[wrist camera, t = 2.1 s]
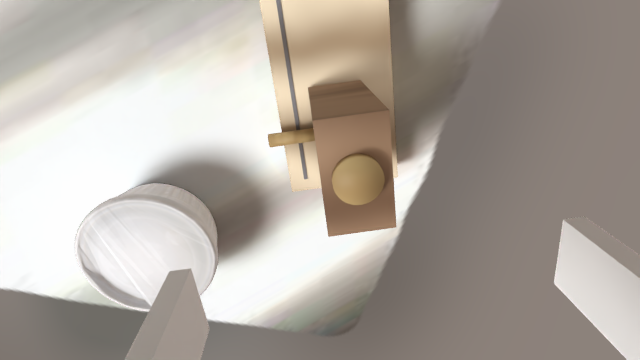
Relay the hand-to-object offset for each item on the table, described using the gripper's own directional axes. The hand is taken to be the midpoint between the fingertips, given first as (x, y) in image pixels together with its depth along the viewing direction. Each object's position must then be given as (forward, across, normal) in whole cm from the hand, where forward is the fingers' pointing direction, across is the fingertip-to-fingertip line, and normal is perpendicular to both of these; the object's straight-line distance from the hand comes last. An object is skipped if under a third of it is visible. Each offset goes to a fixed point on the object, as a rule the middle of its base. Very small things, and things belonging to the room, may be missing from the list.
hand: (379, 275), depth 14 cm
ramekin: (+21, -17, -8) cm, 28 cm away
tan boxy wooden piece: (+18, -1, 0) cm, 18 cm away
